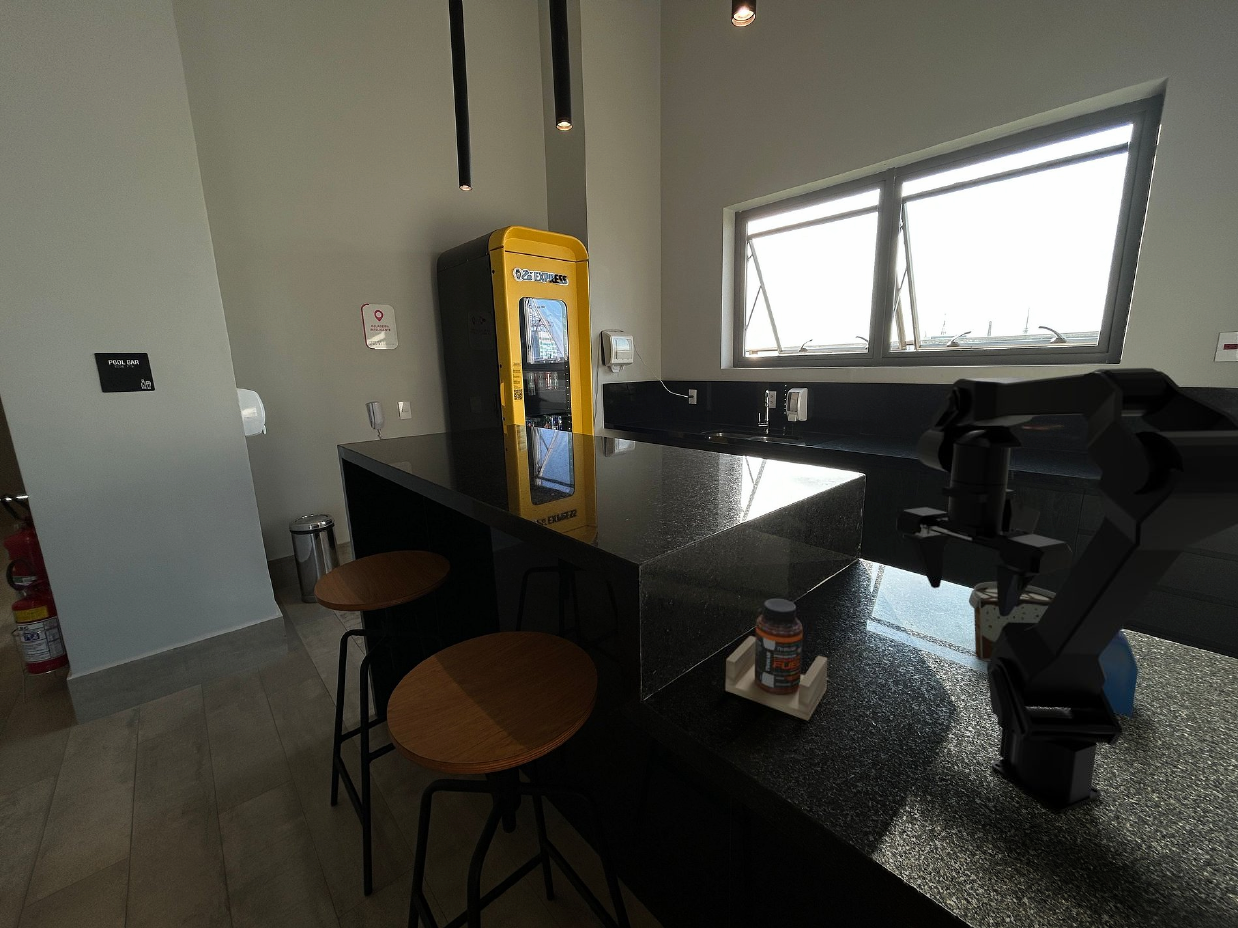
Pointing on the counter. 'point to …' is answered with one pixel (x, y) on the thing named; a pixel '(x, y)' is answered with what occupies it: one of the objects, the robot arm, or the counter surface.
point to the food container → (991, 621)
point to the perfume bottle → (1119, 674)
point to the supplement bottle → (778, 648)
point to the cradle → (795, 703)
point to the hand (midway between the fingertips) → (967, 600)
